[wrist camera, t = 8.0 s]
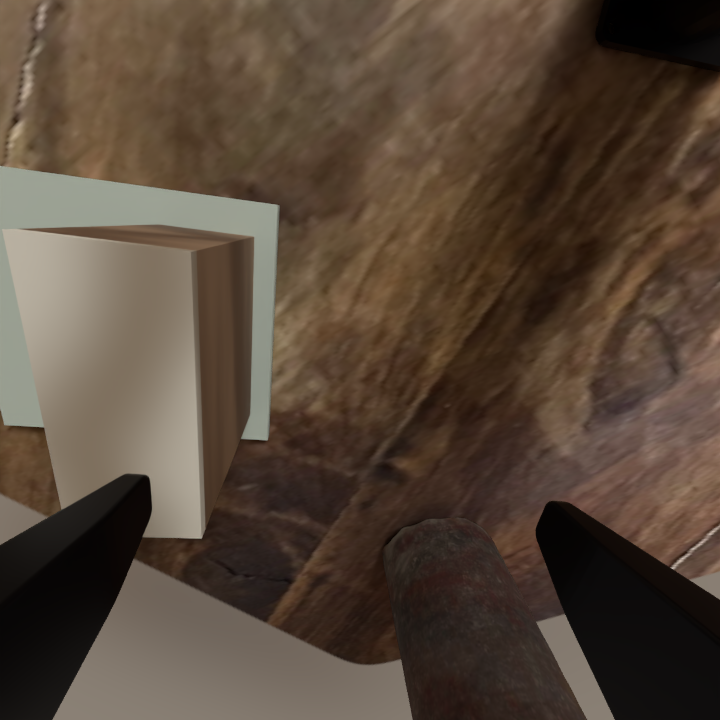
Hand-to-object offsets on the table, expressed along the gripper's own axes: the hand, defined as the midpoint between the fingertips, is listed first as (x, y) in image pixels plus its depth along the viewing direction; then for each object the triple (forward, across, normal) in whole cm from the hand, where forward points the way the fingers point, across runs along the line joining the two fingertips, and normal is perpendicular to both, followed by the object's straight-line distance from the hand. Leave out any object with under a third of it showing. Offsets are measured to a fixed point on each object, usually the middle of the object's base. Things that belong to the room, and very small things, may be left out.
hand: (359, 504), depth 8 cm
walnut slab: (+11, +6, 0) cm, 13 cm away
